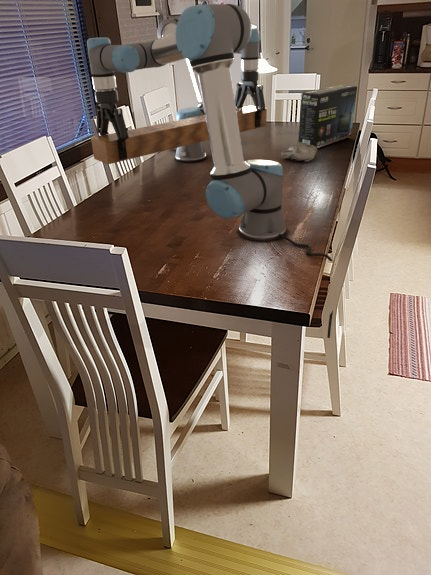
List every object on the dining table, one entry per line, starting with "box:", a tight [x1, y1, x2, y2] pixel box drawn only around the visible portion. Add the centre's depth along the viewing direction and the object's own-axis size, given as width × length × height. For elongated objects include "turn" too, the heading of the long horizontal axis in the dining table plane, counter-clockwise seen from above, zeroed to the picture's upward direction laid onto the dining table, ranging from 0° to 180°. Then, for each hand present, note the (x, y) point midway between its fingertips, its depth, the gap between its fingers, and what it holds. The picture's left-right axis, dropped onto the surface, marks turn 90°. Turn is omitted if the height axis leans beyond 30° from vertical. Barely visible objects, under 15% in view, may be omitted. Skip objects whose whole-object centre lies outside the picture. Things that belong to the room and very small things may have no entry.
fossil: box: [280, 141, 318, 163], centre depth 221 cm, size 18×11×15 cm
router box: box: [297, 84, 358, 147], centre depth 238 cm, size 36×11×27 cm, turn 134°
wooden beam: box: [90, 105, 268, 165], centre depth 184 cm, size 81×10×8 cm, turn 132°
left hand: (249, 125), depth 205 cm, fingers closed on wooden beam, 10 cm apart
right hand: (115, 156), depth 166 cm, fingers closed on wooden beam, 10 cm apart
